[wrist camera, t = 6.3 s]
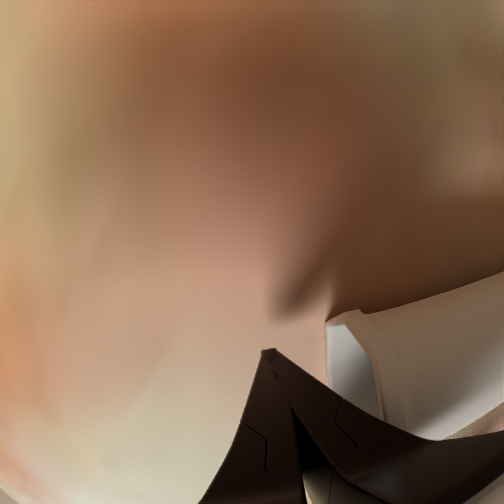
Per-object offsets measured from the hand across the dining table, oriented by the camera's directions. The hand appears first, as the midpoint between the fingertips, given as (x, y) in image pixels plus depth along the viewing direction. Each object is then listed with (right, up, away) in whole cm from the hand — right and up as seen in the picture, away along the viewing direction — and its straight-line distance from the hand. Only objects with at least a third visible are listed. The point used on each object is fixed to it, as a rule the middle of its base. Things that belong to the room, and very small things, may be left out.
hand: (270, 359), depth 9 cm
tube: (+14, +2, +3) cm, 15 cm away
